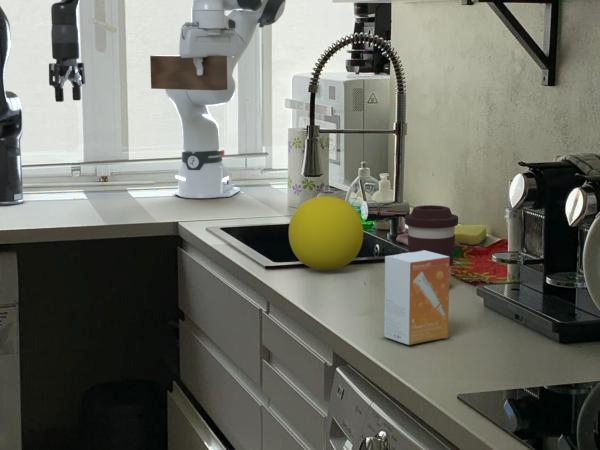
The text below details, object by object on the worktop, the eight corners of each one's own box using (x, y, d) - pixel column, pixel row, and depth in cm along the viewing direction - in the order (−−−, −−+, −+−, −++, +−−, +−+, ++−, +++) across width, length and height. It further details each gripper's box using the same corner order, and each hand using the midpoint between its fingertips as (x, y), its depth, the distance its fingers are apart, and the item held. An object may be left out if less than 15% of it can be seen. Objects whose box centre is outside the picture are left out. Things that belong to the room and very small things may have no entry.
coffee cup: (400, 280, 202) (400, 204, 200) (450, 279, 203) (451, 203, 201) (409, 292, 193) (410, 212, 190) (462, 291, 193) (463, 211, 191)
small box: (409, 346, 158) (409, 262, 156) (383, 337, 163) (383, 255, 161) (449, 337, 162) (450, 255, 160) (423, 329, 168) (424, 249, 166)
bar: (151, 88, 290) (150, 55, 289) (164, 88, 294) (163, 55, 293) (214, 90, 277) (214, 55, 275) (227, 89, 281) (227, 55, 279)
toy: (345, 259, 223) (344, 190, 221) (374, 273, 209) (374, 199, 207) (278, 265, 218) (278, 194, 216) (304, 279, 204) (304, 204, 202)
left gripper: (62, 41, 278) (65, 102, 281) (91, 41, 291) (93, 99, 294) (38, 41, 281) (42, 102, 284) (68, 41, 294) (70, 99, 297)
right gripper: (190, 21, 268) (192, 76, 270) (241, 22, 284) (242, 73, 287) (172, 22, 272) (174, 75, 274) (223, 23, 288) (224, 73, 290)
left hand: (68, 101), depth 289 cm, fingers open, 8 cm apart
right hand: (209, 74), depth 280 cm, fingers closed on bar, 5 cm apart
